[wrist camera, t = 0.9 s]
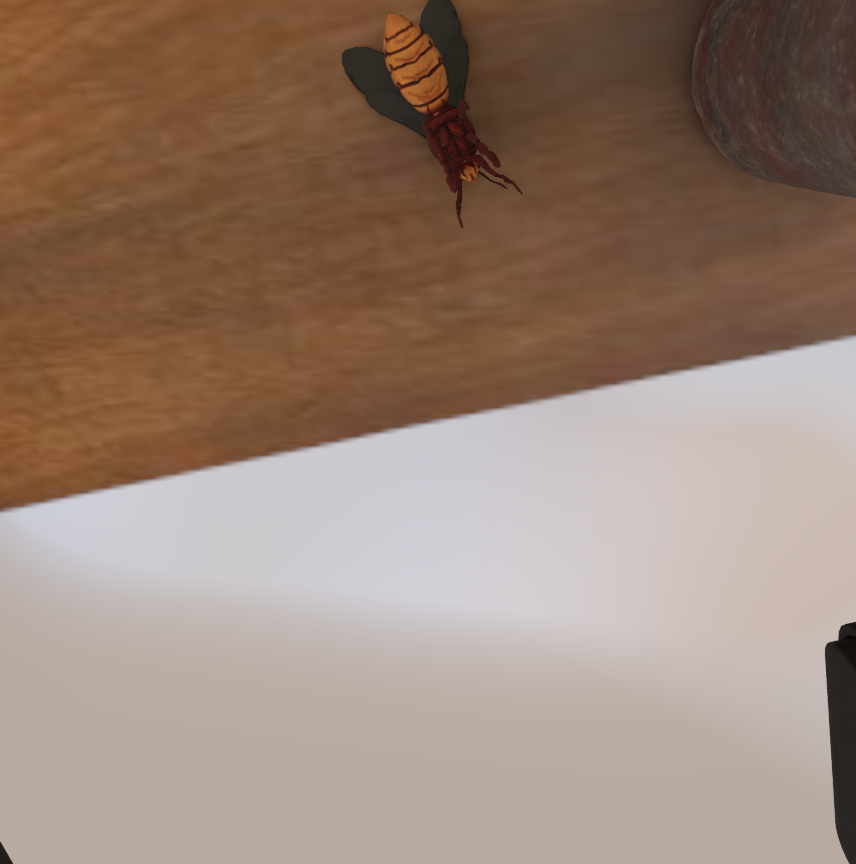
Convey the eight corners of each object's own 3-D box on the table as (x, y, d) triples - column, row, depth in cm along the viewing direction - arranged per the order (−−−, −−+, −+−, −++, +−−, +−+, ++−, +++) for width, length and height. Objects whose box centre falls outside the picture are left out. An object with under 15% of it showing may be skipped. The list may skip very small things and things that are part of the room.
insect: (560, 185, 22) (531, 169, 27) (456, -37, 20) (444, -13, 25) (438, 255, 23) (430, 227, 28) (323, 46, 21) (335, 54, 25)
